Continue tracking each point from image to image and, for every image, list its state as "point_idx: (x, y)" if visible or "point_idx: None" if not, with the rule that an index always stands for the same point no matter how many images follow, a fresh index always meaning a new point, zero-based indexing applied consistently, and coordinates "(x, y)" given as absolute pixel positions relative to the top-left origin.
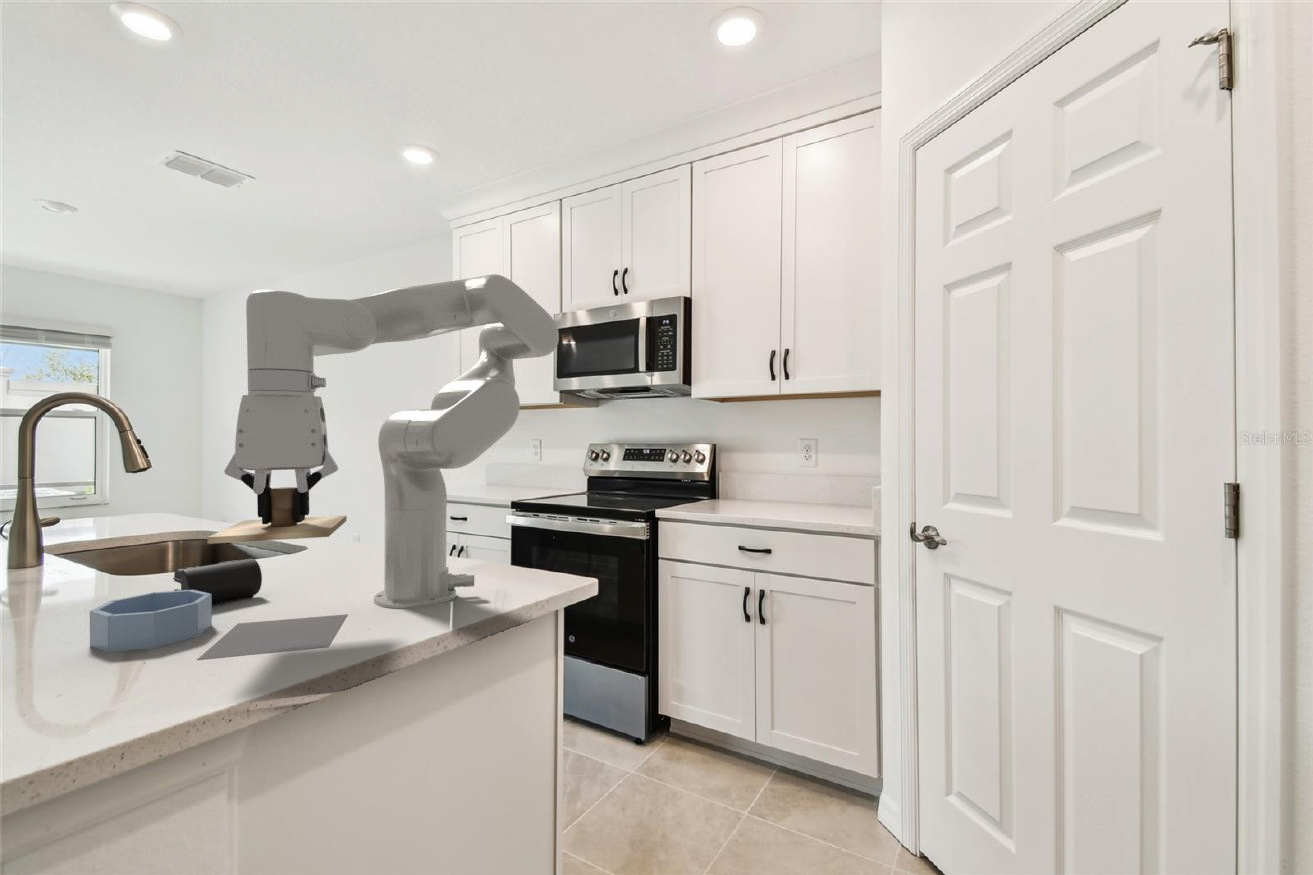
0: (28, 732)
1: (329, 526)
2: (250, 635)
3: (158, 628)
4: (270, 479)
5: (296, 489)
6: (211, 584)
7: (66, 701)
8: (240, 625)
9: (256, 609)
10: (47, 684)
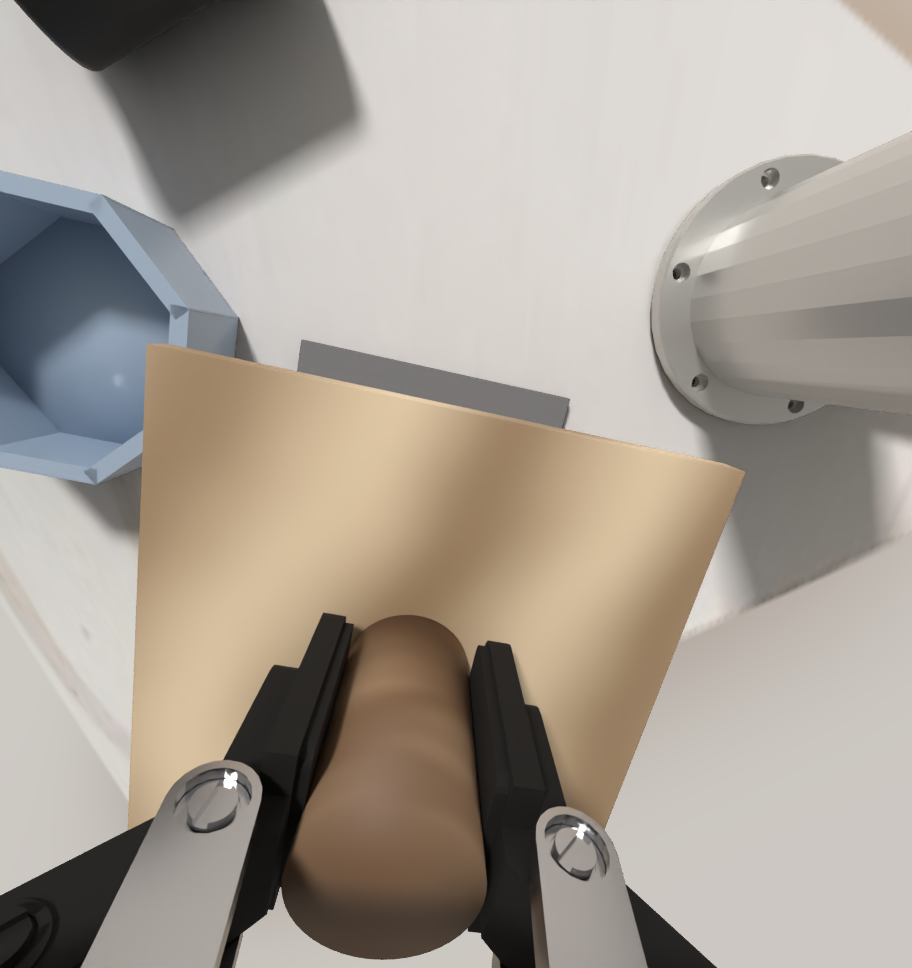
0: (119, 756)
1: (599, 796)
2: None
3: (132, 468)
4: (232, 902)
5: (484, 929)
6: (125, 9)
7: (112, 665)
8: (310, 365)
9: (323, 131)
10: (30, 566)
